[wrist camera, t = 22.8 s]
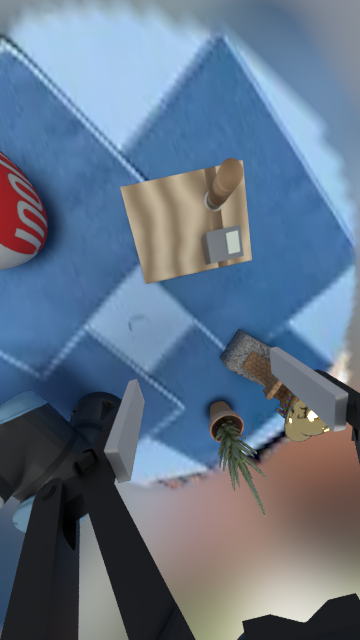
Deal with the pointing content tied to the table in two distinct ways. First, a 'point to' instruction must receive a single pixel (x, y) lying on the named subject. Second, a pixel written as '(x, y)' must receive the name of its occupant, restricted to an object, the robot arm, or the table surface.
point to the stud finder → (222, 244)
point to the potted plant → (232, 444)
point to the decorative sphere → (19, 217)
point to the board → (181, 222)
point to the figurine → (272, 385)
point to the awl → (224, 182)
